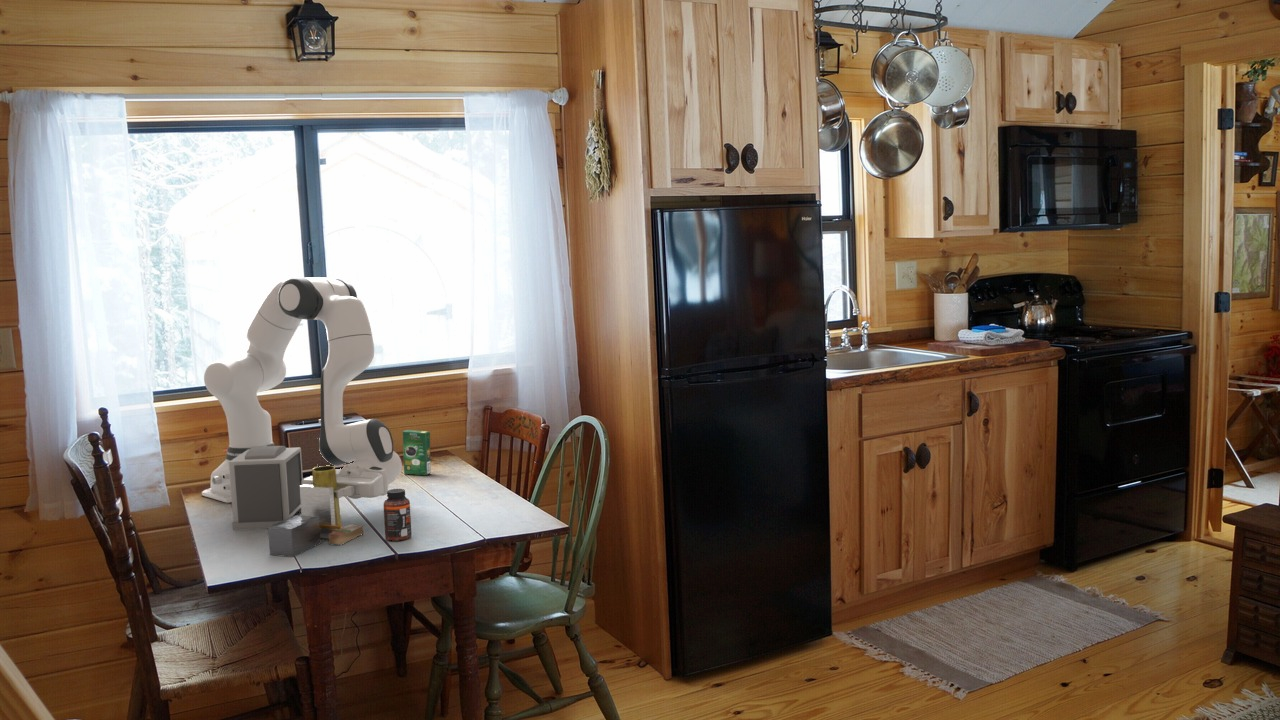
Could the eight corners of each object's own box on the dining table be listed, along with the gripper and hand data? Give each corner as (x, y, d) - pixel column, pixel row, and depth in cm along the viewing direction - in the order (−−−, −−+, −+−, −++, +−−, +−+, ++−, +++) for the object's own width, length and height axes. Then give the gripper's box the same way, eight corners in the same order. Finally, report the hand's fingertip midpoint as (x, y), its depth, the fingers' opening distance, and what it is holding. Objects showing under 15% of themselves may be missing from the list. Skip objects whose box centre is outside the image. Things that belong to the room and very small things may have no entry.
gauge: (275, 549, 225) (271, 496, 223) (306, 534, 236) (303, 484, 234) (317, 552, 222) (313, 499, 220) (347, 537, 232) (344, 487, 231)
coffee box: (432, 474, 297) (430, 430, 296) (427, 476, 295) (425, 432, 293) (409, 472, 300) (406, 429, 298) (403, 474, 297) (401, 431, 296)
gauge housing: (270, 554, 222) (268, 527, 221) (298, 541, 231) (296, 515, 230) (293, 556, 220) (291, 528, 219) (320, 543, 229) (318, 516, 229)
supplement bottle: (412, 540, 230) (410, 492, 229) (385, 543, 228) (383, 494, 227) (410, 533, 236) (408, 486, 234) (384, 536, 234) (382, 488, 233)
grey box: (254, 510, 261) (249, 441, 259) (306, 508, 262) (302, 439, 259) (231, 530, 242) (225, 455, 240) (287, 527, 243) (282, 453, 241)
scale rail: (329, 544, 228) (328, 534, 228) (352, 533, 237) (351, 523, 237) (340, 545, 227) (340, 535, 227) (363, 534, 236) (362, 524, 236)
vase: (331, 531, 233) (326, 472, 231) (309, 529, 235) (304, 470, 233) (347, 523, 239) (342, 465, 237) (325, 521, 241) (320, 464, 239)
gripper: (320, 465, 251) (285, 478, 238) (392, 469, 245) (360, 482, 232) (321, 490, 252) (286, 504, 239) (393, 494, 245) (361, 509, 232)
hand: (323, 493), depth 235 cm, fingers closed on vase, 5 cm apart
